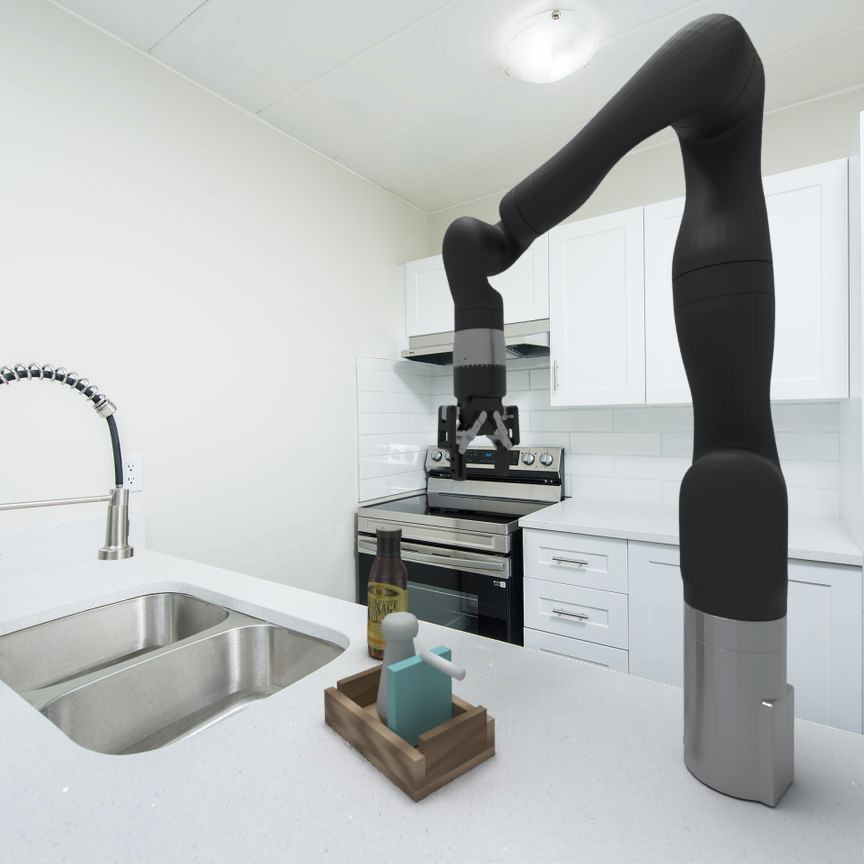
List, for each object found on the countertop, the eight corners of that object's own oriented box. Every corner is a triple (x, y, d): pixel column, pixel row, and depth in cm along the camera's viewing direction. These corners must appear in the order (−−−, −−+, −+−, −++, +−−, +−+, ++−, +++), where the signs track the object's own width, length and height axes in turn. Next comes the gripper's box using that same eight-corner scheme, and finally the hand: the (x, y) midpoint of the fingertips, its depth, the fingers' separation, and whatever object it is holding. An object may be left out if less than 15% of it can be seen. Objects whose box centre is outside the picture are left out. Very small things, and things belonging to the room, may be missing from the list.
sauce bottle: (360, 657, 82) (357, 529, 81) (379, 641, 88) (376, 522, 87) (398, 664, 79) (395, 532, 79) (415, 647, 85) (413, 524, 85)
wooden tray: (495, 754, 58) (494, 704, 58) (416, 802, 51) (415, 746, 51) (397, 690, 72) (396, 650, 72) (324, 721, 65) (323, 677, 65)
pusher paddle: (490, 751, 56) (489, 656, 56) (432, 785, 51) (431, 682, 51) (443, 721, 62) (442, 635, 62) (387, 749, 57) (386, 655, 57)
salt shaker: (420, 743, 58) (418, 627, 58) (370, 738, 60) (368, 624, 59) (430, 714, 64) (428, 608, 64) (384, 710, 65) (382, 605, 65)
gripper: (461, 359, 68) (462, 485, 69) (532, 364, 77) (533, 476, 78) (424, 364, 74) (426, 480, 74) (494, 369, 83) (496, 472, 83)
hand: (481, 478), depth 76 cm, fingers open, 8 cm apart
